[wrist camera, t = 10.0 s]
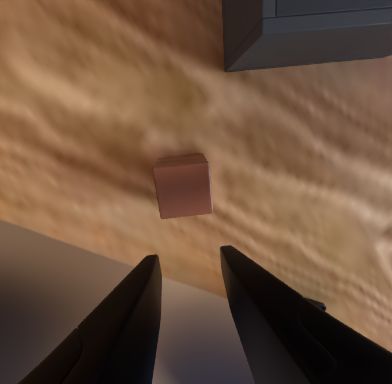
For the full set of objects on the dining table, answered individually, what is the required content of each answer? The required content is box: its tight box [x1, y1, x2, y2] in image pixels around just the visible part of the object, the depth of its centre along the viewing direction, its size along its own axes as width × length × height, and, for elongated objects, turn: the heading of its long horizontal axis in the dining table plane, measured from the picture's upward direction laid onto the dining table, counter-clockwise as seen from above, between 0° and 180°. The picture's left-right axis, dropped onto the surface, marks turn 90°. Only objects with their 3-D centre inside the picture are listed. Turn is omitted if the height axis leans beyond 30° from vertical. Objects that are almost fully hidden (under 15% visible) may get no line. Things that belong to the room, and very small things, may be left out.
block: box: [153, 154, 213, 219], centre depth 17 cm, size 4×4×4 cm
